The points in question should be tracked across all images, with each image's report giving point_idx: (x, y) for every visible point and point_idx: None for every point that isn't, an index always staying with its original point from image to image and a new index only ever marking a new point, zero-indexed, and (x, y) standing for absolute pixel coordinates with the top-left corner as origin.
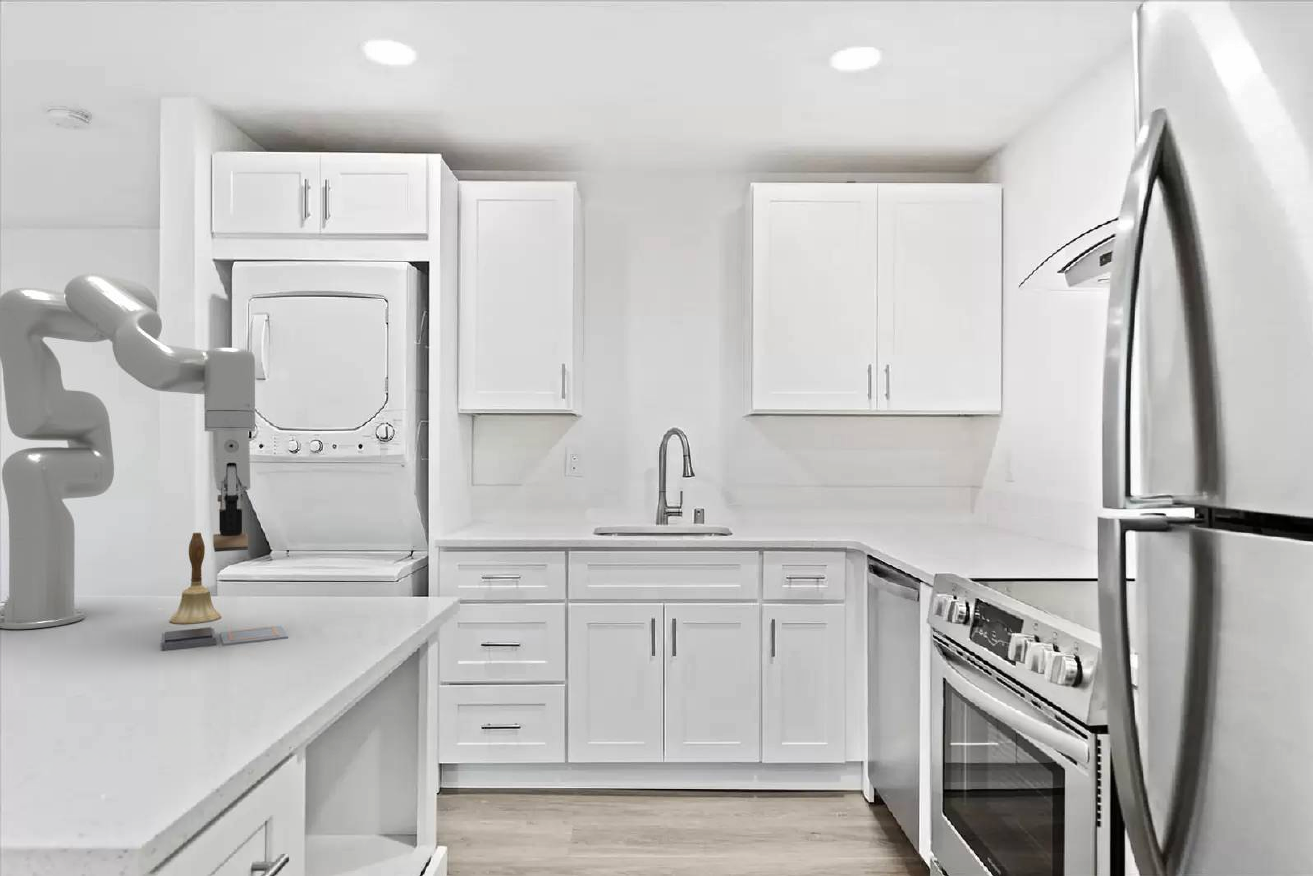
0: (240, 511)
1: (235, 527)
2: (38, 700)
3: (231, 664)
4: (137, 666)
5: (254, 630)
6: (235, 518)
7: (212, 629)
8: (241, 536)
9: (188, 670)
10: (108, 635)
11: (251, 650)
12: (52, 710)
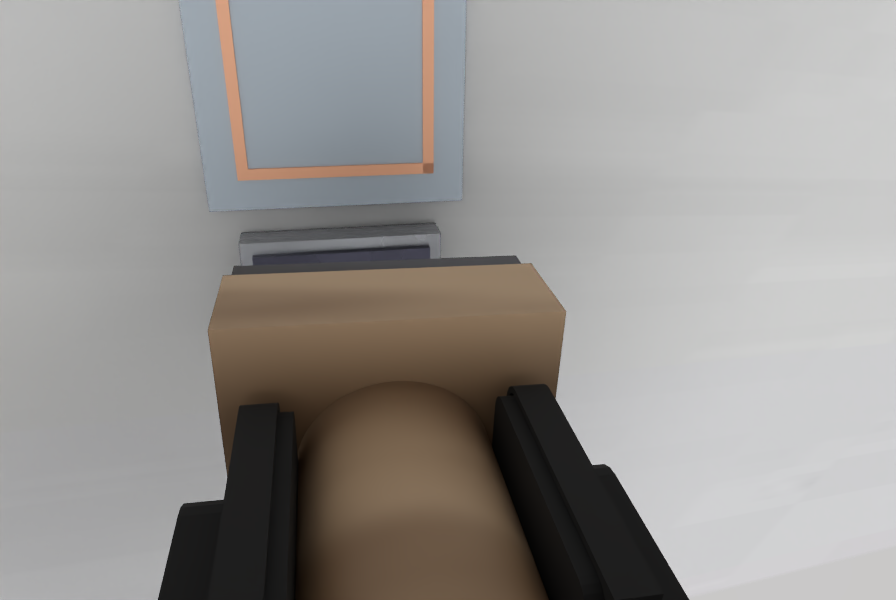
0: (651, 587)
1: (609, 475)
2: (786, 540)
3: (766, 174)
4: (606, 416)
5: (248, 65)
6: (656, 555)
7: (265, 248)
8: (558, 365)
9: (749, 290)
10: (68, 559)
11: (607, 100)
12: (882, 502)
